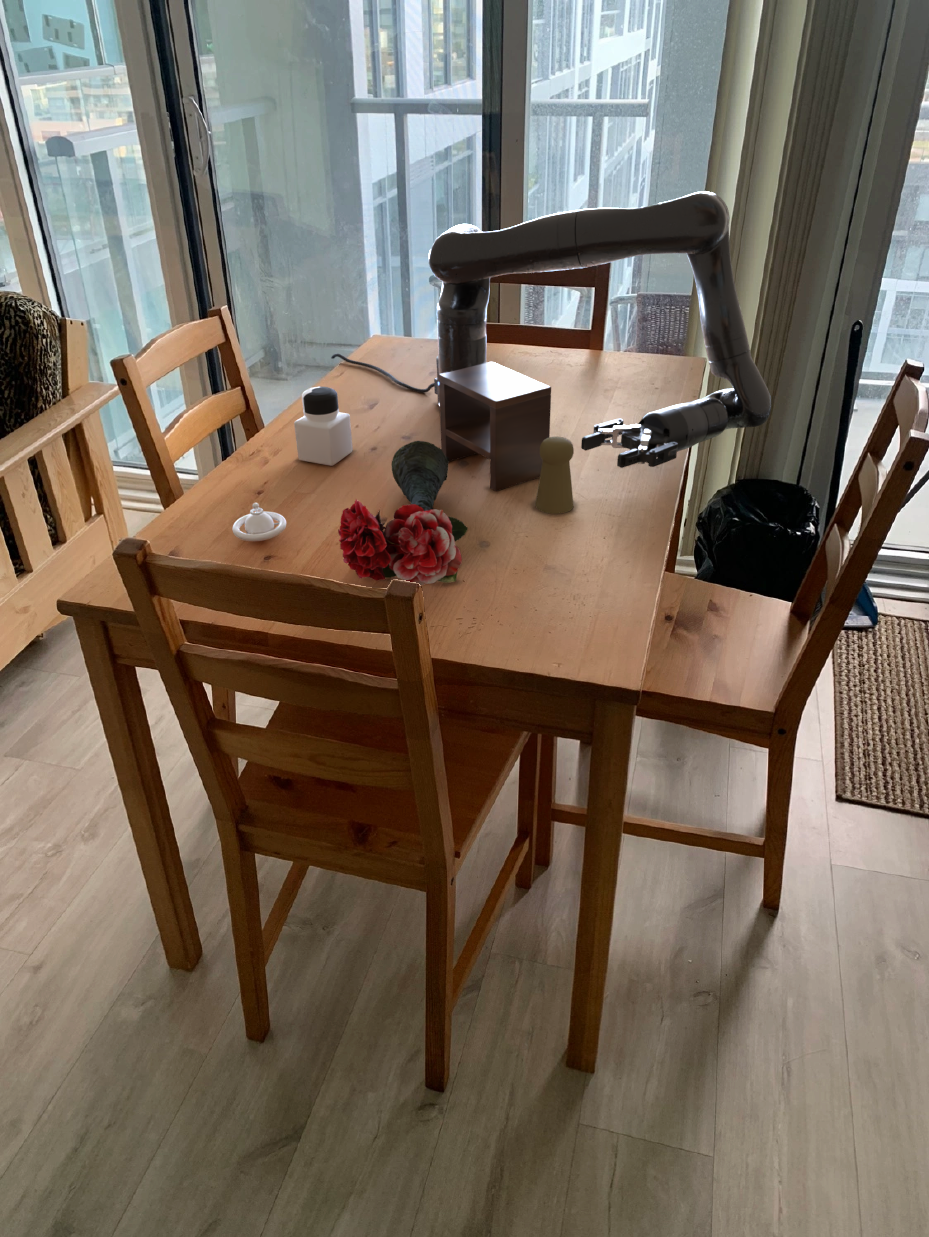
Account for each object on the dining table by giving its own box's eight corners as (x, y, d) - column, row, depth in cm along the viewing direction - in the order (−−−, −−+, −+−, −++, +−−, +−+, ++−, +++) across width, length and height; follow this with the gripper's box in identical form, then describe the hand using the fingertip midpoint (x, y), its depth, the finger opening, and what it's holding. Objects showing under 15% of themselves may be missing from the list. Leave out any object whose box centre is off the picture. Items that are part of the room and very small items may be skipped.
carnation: (414, 536, 156) (420, 646, 126) (323, 471, 149) (306, 571, 119) (474, 466, 151) (496, 563, 120) (383, 395, 144) (381, 480, 114)
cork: (532, 497, 150) (534, 433, 144) (569, 495, 151) (573, 431, 145) (538, 514, 145) (540, 448, 139) (576, 512, 146) (580, 446, 140)
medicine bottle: (353, 451, 167) (347, 386, 160) (332, 467, 162) (325, 400, 155) (319, 445, 170) (312, 381, 163) (297, 460, 164) (289, 394, 158)
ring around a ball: (298, 536, 140) (269, 518, 145) (293, 502, 137) (263, 485, 142) (253, 556, 136) (224, 537, 141) (246, 521, 133) (217, 503, 138)
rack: (441, 459, 164) (438, 374, 155) (492, 444, 169) (492, 361, 160) (495, 491, 152) (496, 401, 144) (548, 474, 158) (551, 386, 149)
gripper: (645, 395, 159) (572, 417, 152) (708, 420, 149) (633, 444, 142) (641, 437, 163) (570, 460, 156) (702, 464, 153) (629, 489, 146)
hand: (600, 452), depth 149 cm, fingers open, 8 cm apart
